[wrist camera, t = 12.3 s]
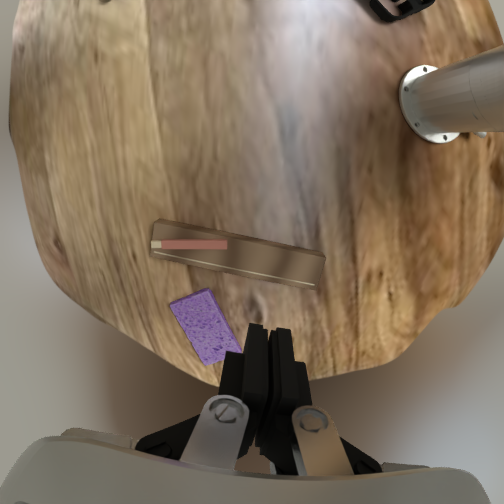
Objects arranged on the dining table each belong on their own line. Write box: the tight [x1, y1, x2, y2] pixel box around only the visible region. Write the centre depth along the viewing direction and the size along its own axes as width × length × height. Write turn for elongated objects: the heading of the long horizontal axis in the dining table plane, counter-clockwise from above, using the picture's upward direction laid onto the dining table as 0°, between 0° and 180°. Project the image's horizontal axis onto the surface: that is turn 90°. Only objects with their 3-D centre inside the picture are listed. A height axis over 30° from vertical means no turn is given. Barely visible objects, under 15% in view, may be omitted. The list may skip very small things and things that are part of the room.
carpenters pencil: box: [151, 239, 227, 249], centre depth 41 cm, size 10×1×1 cm, turn 90°
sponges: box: [170, 288, 242, 366], centre depth 47 cm, size 7×13×2 cm, turn 23°
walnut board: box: [150, 219, 326, 290], centre depth 43 cm, size 24×5×3 cm, turn 78°
